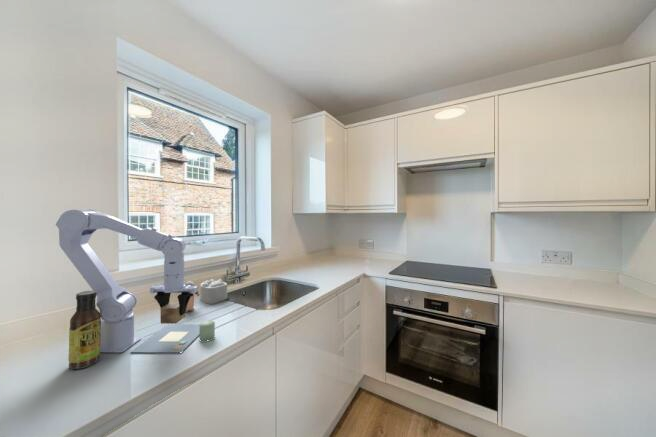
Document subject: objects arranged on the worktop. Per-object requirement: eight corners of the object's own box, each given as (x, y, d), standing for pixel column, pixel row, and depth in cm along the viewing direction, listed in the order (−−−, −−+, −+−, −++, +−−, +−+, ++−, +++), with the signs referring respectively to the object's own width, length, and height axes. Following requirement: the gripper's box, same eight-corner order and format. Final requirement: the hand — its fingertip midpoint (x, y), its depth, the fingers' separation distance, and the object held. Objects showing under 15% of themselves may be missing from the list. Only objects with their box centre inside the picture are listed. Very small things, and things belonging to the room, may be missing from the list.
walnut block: (160, 323, 79) (160, 308, 79) (170, 316, 84) (170, 302, 84) (176, 323, 79) (176, 308, 79) (184, 316, 84) (184, 302, 84)
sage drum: (196, 341, 80) (196, 326, 80) (203, 334, 85) (203, 320, 85) (210, 341, 80) (210, 327, 80) (216, 334, 85) (216, 320, 85)
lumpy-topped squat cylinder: (210, 304, 112) (210, 285, 112) (194, 298, 119) (194, 281, 119) (230, 298, 121) (230, 280, 120) (214, 292, 128) (214, 276, 127)
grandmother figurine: (182, 314, 101) (182, 283, 101) (178, 311, 103) (178, 282, 103) (201, 308, 107) (201, 280, 107) (196, 306, 109) (197, 278, 109)
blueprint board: (130, 353, 73) (130, 351, 73) (168, 325, 91) (168, 323, 91) (181, 353, 74) (181, 351, 74) (208, 325, 92) (208, 324, 92)
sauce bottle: (81, 372, 64) (80, 297, 64) (62, 369, 65) (61, 295, 65) (107, 358, 71) (106, 290, 70) (88, 355, 72) (88, 288, 71)
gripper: (143, 276, 78) (143, 319, 78) (189, 277, 78) (189, 319, 78) (158, 271, 85) (158, 310, 85) (200, 271, 85) (200, 310, 85)
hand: (174, 314), depth 82 cm, fingers closed on walnut block, 5 cm apart
